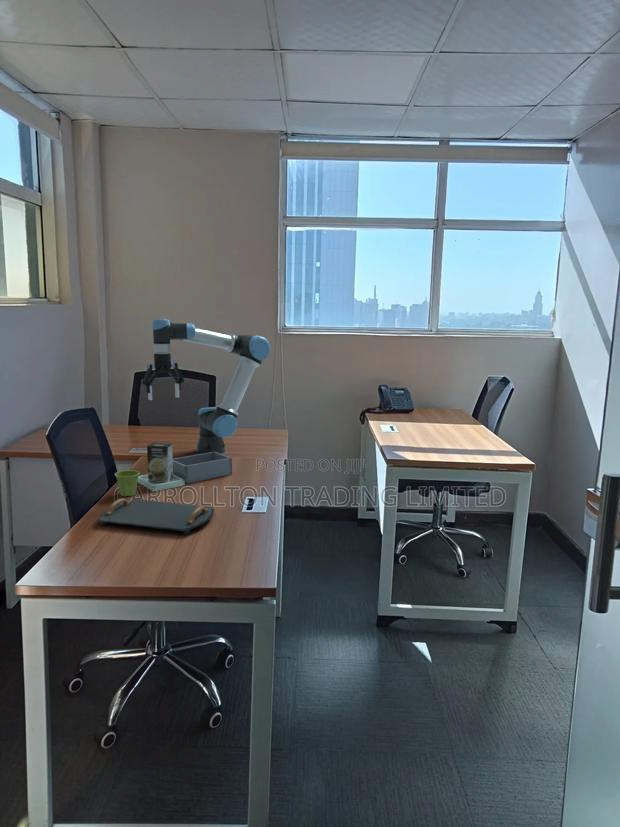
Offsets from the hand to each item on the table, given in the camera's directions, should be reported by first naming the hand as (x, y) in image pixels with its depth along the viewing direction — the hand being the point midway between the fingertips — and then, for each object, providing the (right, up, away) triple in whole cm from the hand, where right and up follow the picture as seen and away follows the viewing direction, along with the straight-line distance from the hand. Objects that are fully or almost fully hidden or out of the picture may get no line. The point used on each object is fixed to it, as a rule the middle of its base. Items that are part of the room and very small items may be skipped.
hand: (164, 398), depth 265 cm
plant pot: (-4, -39, -39) cm, 55 cm away
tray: (+5, -37, -25) cm, 44 cm away
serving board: (+15, -45, -66) cm, 81 cm away
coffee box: (+5, -36, -25) cm, 44 cm away
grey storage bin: (+19, -34, -11) cm, 41 cm away
